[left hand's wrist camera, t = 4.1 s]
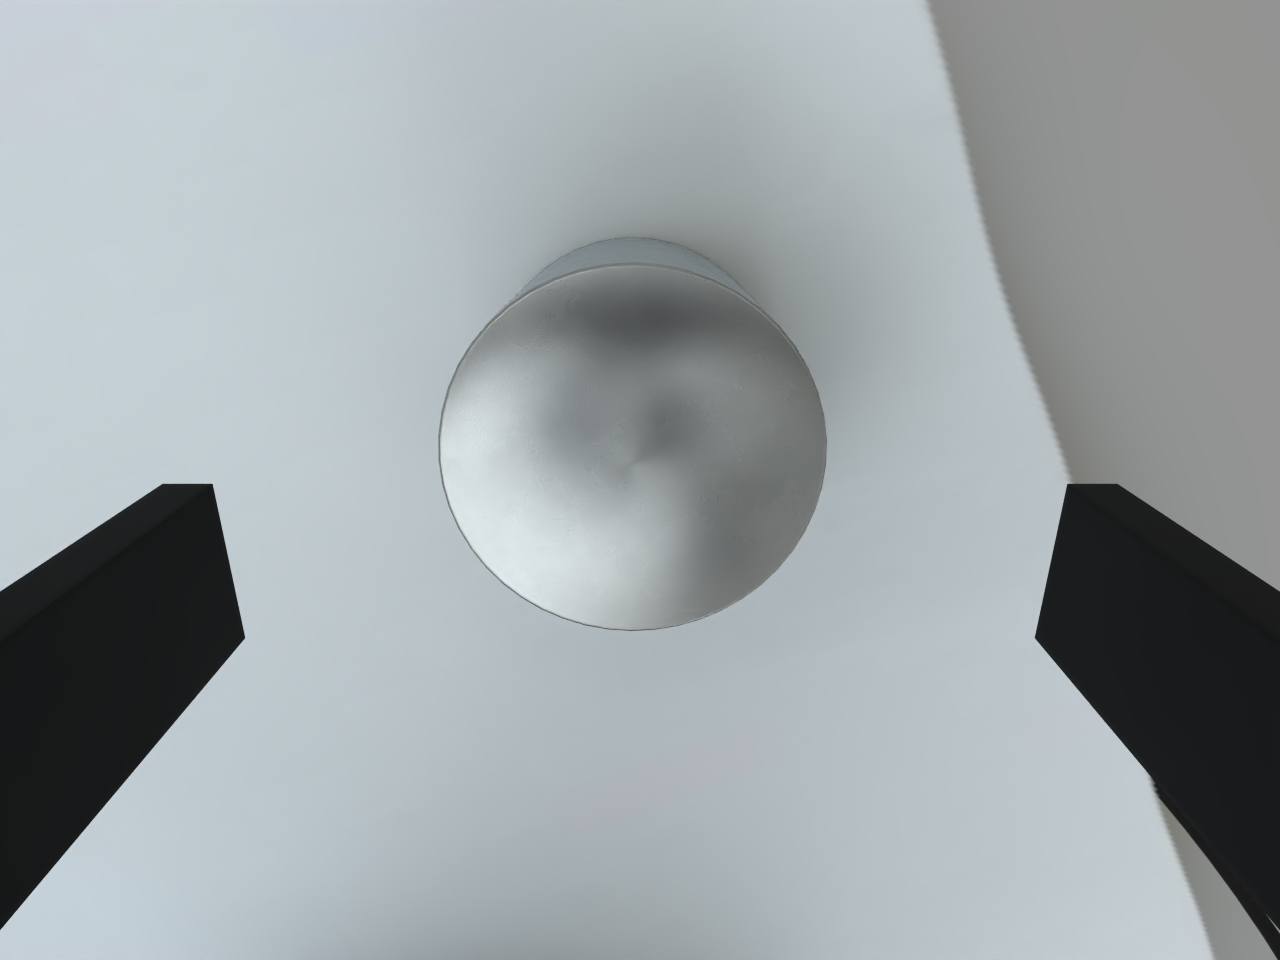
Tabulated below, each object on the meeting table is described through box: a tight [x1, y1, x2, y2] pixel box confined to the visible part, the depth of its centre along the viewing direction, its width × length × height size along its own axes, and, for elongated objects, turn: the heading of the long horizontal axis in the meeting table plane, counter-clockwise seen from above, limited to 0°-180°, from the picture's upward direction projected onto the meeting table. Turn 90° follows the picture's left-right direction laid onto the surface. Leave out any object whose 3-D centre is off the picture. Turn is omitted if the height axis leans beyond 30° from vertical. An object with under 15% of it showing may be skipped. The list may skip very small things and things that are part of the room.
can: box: [438, 238, 827, 631], centre depth 22 cm, size 9×9×8 cm
